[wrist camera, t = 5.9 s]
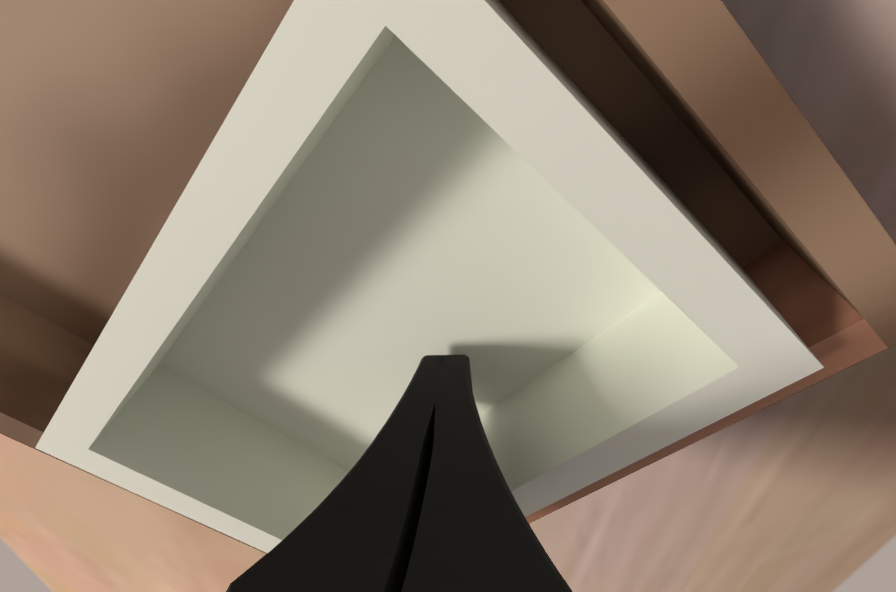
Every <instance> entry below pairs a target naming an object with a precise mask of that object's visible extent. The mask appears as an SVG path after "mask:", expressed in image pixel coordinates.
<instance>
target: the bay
mask: <svg viewBox="0 0 896 592" xmlns="http://www.w3.org/2000/svg"><path fill="white" fill-rule="evenodd" d="M293 1H294V0H0V433H1V434H3V435H5V436H7V437H9V438H12V439H14V440H16V441H18V442H20V443H23V444H25V445H27V446H29V447H31V448H34V449H36V448H35V447H36V445H37V443H38V442H39V440H40V438H41V437H42V435H43V433H44V431H45V430H46V428H47V426H48V424H49V423H50V421H51V419H52V418H53V416H54V414H55V412H56V411H57V409H58V407H59V405H60V404H61V402H62V400H63V398H64V397H65V395H66V393H67V392H68V390H69V388H70V386H71V385H72V383H73V381H74V379H75V378H76V376H77V374H78V373H79V371H80V369H81V367H82V366H83V364H84V362H85V360H86V359H87V357H88V355H89V354H90V352H91V350H92V348H93V347H94V345H95V343H96V341H97V340H98V338H99V336H100V335H101V333H102V331H103V329H104V328H105V326H106V324H107V322H108V321H109V319H110V317H111V316H112V314H113V312H114V310H115V309H116V307H117V305H118V303H119V302H120V300H121V298H122V297H123V295H124V293H125V291H126V290H127V288H128V286H129V284H130V283H131V281H132V279H133V278H134V276H135V274H136V272H137V271H138V269H139V267H140V265H141V264H142V262H143V260H144V259H145V257H146V255H147V253H148V252H149V250H150V248H151V246H152V245H153V243H154V241H155V240H156V238H157V236H158V234H159V233H160V231H161V229H162V227H163V226H164V224H165V222H166V221H167V219H168V217H169V215H170V214H171V212H172V210H173V208H174V207H175V205H176V203H177V202H178V200H179V198H180V196H181V195H182V193H183V191H184V189H185V188H186V186H187V184H188V182H189V181H190V179H191V177H192V176H193V174H194V172H195V170H196V169H197V167H198V165H199V163H200V162H201V160H202V158H203V157H204V155H205V153H206V151H207V150H208V148H209V146H210V144H211V143H212V141H213V139H214V138H215V136H216V134H217V132H218V131H219V129H220V127H221V125H222V124H223V122H224V120H225V119H226V117H227V115H228V113H229V112H230V110H231V108H232V106H233V105H234V103H235V101H236V100H237V98H238V96H239V94H240V93H241V91H242V89H243V87H244V86H245V84H246V82H247V81H248V79H249V77H250V75H251V74H252V72H253V70H254V68H255V67H256V65H257V63H258V62H259V60H260V58H261V56H262V55H263V53H264V51H265V49H266V48H267V46H268V44H269V43H270V41H271V39H272V37H273V36H274V34H275V32H276V30H277V29H278V27H279V25H280V24H281V22H282V20H283V18H284V17H285V15H286V13H287V11H288V10H289V8H290V6H291V5H292V3H293ZM499 1H500V2H501V3H502V4H503V5H504V6H505V7H506V9H507V10H508V11H509V12H510V13H511V14H512V15H513V16H514V17H515V18H516V19H517V21H518V22H519V23H520V24H521V25H522V26H523V27H524V28H525V29H526V30H527V32H528V33H529V34H530V35H531V36H532V37H533V38H534V39H535V40H536V41H537V43H538V44H539V45H540V46H541V47H542V48H543V49H544V50H545V51H546V52H547V53H548V55H549V56H550V57H551V58H552V59H553V60H554V61H555V62H556V63H557V64H558V66H559V67H560V68H561V69H562V70H563V71H564V72H565V73H566V74H567V75H568V77H569V78H570V79H571V80H572V81H573V82H574V83H575V84H576V85H577V86H578V87H579V89H580V90H581V91H582V92H583V93H584V94H585V95H586V96H587V97H588V98H589V100H590V101H591V102H592V103H593V104H594V105H595V106H596V107H597V108H598V109H599V111H600V112H601V113H602V114H603V115H604V116H605V117H606V118H607V119H608V120H609V121H610V123H611V124H612V125H613V126H614V127H615V128H616V129H617V130H618V131H619V132H620V134H621V135H622V136H623V137H624V138H625V139H626V140H627V141H628V142H629V143H630V144H631V146H632V147H633V148H634V149H635V150H636V151H637V152H638V153H639V154H640V155H641V157H642V158H643V159H644V160H645V161H646V162H647V163H648V164H649V165H650V166H651V168H652V169H653V170H654V171H655V172H656V173H657V174H658V175H659V176H660V177H661V178H662V180H663V181H664V182H665V183H666V184H667V185H668V186H669V187H670V188H671V189H672V191H673V192H674V193H675V194H676V195H677V196H678V197H679V198H680V199H681V200H682V202H683V203H684V204H685V205H686V206H687V207H688V208H689V209H690V210H691V211H692V212H693V214H694V215H695V216H696V217H697V218H698V219H699V220H700V221H701V222H702V223H703V225H704V226H705V227H706V228H707V229H708V230H709V231H710V232H711V233H712V234H713V236H714V237H715V238H716V239H717V240H718V241H719V242H720V243H721V244H722V245H723V246H724V248H725V249H726V250H727V251H728V252H729V253H730V254H731V255H732V256H733V257H734V259H735V260H736V261H737V262H738V263H739V264H740V265H741V267H742V268H743V269H744V270H745V272H746V273H747V274H748V275H749V276H750V278H751V279H752V280H753V281H754V283H755V284H756V285H757V286H758V287H759V289H760V290H761V291H762V292H763V293H764V295H765V296H766V297H767V298H768V300H769V301H770V302H771V303H772V304H773V306H774V307H775V308H776V309H777V311H778V312H779V313H780V314H781V315H782V317H783V318H784V319H785V320H786V322H787V323H788V324H789V325H790V326H791V328H792V329H793V330H794V331H795V333H796V334H797V335H798V336H799V337H800V339H801V340H802V341H803V342H804V344H805V345H806V346H807V347H808V348H809V350H810V351H811V352H812V353H813V355H814V356H815V357H816V358H817V359H818V361H819V362H820V363H821V364H822V365H823V367H824V368H822V369H820V370H818V371H816V372H814V373H812V374H810V375H808V376H806V377H804V378H802V379H800V380H798V381H796V382H794V383H792V384H790V385H788V386H786V387H784V388H782V389H780V390H778V391H776V392H774V393H772V394H770V395H768V396H766V397H764V398H762V399H760V400H758V401H756V402H754V403H752V404H750V405H748V406H746V407H744V408H742V409H740V410H738V411H736V412H734V413H732V414H730V415H728V416H726V417H724V418H722V419H720V420H718V421H716V422H714V423H712V424H710V425H708V426H706V427H704V428H702V429H700V430H698V431H696V432H694V433H692V434H690V435H688V436H686V437H684V438H682V439H680V440H678V441H676V442H674V443H672V444H670V445H668V446H666V447H664V448H662V449H660V450H658V451H656V452H654V453H652V454H650V455H648V456H646V457H644V458H642V459H640V460H638V461H636V462H634V463H632V464H630V465H628V466H626V467H624V468H622V469H620V470H618V471H616V472H614V473H612V474H610V475H608V476H606V477H604V478H602V479H600V480H598V481H596V482H594V483H592V484H590V485H588V486H586V487H584V488H582V489H580V490H578V491H576V492H574V493H572V494H570V495H568V496H566V497H564V498H562V499H560V500H558V501H556V502H554V503H552V504H550V505H548V506H546V507H544V508H542V509H540V510H538V511H536V512H534V513H532V514H530V515H528V516H526V517H525V518H526V520H527V522H528V523H531V522H533V521H535V520H537V519H539V518H541V517H543V516H545V515H547V514H549V513H551V512H553V511H555V510H557V509H560V508H562V507H564V506H566V505H568V504H570V503H572V502H574V501H576V500H578V499H580V498H582V497H584V496H586V495H588V494H590V493H592V492H594V491H596V490H598V489H600V488H602V487H605V486H607V485H609V484H611V483H613V482H615V481H617V480H619V479H621V478H623V477H625V476H627V475H629V474H631V473H633V472H635V471H637V470H639V469H641V468H643V467H645V466H647V465H650V464H652V463H654V462H656V461H658V460H660V459H662V458H664V457H666V456H668V455H670V454H672V453H674V452H676V451H678V450H680V449H682V448H684V447H686V446H688V445H690V444H692V443H695V442H697V441H699V440H701V439H703V438H705V437H707V436H709V435H711V434H713V433H715V432H717V431H719V430H721V429H723V428H725V427H727V426H729V425H731V424H733V423H735V422H737V421H740V420H742V419H744V418H746V417H748V416H750V415H752V414H754V413H756V412H758V411H760V410H762V409H764V408H766V407H768V406H770V405H772V404H774V403H776V402H778V401H780V400H782V399H785V398H787V397H789V396H791V395H793V394H795V393H797V392H799V391H801V390H803V389H805V388H807V387H809V386H811V385H813V384H815V383H817V382H819V381H821V380H823V379H825V378H827V377H830V376H832V375H834V374H836V373H838V372H840V371H842V370H844V369H846V368H848V367H850V366H852V365H854V364H856V363H858V362H860V361H862V360H864V359H866V358H868V357H870V356H872V355H875V354H877V353H879V352H881V351H883V350H885V349H887V348H889V347H891V346H893V345H895V344H896V245H895V243H894V242H893V240H892V239H891V238H890V236H889V235H888V233H887V232H886V231H885V229H884V228H883V226H882V225H881V224H880V222H879V221H878V219H877V218H876V217H875V215H874V214H873V212H872V211H871V210H870V208H869V207H868V205H867V204H866V203H865V201H864V200H863V198H862V197H861V196H860V194H859V193H858V191H857V190H856V189H855V187H854V186H853V184H852V183H851V181H850V180H849V179H848V177H847V176H846V174H845V173H844V172H843V170H842V169H841V167H840V166H839V165H838V163H837V162H836V160H835V159H834V158H833V156H832V155H831V153H830V152H829V151H828V149H827V148H826V146H825V145H824V144H823V142H822V141H821V139H820V138H819V137H818V135H817V134H816V132H815V131H814V130H813V128H812V127H811V125H810V124H809V123H808V121H807V120H806V118H805V117H804V116H803V114H802V113H801V111H800V110H799V109H798V107H797V106H796V104H795V103H794V102H793V100H792V99H791V97H790V96H789V95H788V93H787V92H786V90H785V89H784V88H783V86H782V85H781V83H780V82H779V81H778V79H777V78H776V76H775V75H774V74H773V72H772V71H771V69H770V68H769V67H768V65H767V64H766V62H765V61H764V60H763V58H762V57H761V55H760V54H759V53H758V51H757V50H756V48H755V47H754V46H753V44H752V43H751V41H750V40H749V39H748V37H747V36H746V34H745V33H744V32H743V30H742V29H741V27H740V26H739V25H738V23H737V22H736V20H735V19H734V18H733V16H732V15H731V13H730V12H729V11H728V9H727V8H726V6H725V5H724V4H723V2H722V1H721V0H499ZM36 450H38V451H40V452H43V451H41V450H39V449H36ZM43 453H45V452H43ZM45 454H47V453H45ZM47 455H49V456H51V457H54V456H52V455H50V454H47ZM54 458H56V457H54ZM56 459H58V458H56ZM58 460H60V461H62V462H65V461H63V460H61V459H58ZM65 463H67V462H65ZM67 464H69V463H67ZM69 465H71V466H73V467H76V466H74V465H72V464H69ZM76 468H78V467H76ZM78 469H80V468H78ZM80 470H82V471H85V470H83V469H80ZM85 472H87V471H85ZM87 473H89V472H87ZM89 474H91V475H93V476H96V475H94V474H92V473H89ZM96 477H98V476H96ZM98 478H100V477H98ZM100 479H102V480H104V481H107V480H105V479H103V478H100ZM107 482H109V481H107ZM109 483H111V482H109ZM111 484H113V485H115V486H118V485H116V484H114V483H111ZM118 487H120V486H118ZM120 488H122V487H120ZM122 489H124V490H127V489H125V488H122ZM127 491H129V490H127ZM129 492H131V491H129ZM131 493H133V492H131ZM133 494H135V495H138V494H136V493H133ZM138 496H140V495H138ZM140 497H142V496H140ZM142 498H144V497H142ZM144 499H146V500H149V499H147V498H144ZM149 501H151V500H149ZM151 502H153V501H151ZM153 503H155V504H157V505H160V504H158V503H156V502H153ZM160 506H162V505H160ZM162 507H164V506H162ZM164 508H166V509H169V508H167V507H164ZM169 510H171V509H169ZM171 511H173V510H171ZM173 512H175V511H173ZM175 513H177V514H180V513H178V512H175ZM180 515H182V514H180ZM182 516H184V515H182ZM184 517H186V516H184ZM186 518H188V519H191V518H189V517H186ZM191 520H193V519H191ZM193 521H195V520H193ZM195 522H197V521H195ZM197 523H199V524H202V523H200V522H197ZM202 525H204V524H202ZM204 526H206V525H204ZM206 527H208V526H206ZM208 528H211V527H208ZM211 529H213V528H211ZM213 530H215V529H213ZM215 531H217V530H215ZM217 532H219V531H217ZM219 533H222V532H219ZM222 534H224V533H222ZM224 535H226V534H224ZM226 536H228V535H226ZM228 537H230V538H233V537H231V536H228ZM233 539H235V538H233ZM235 540H237V539H235ZM237 541H239V540H237ZM239 542H241V543H244V542H242V541H239ZM244 544H246V543H244ZM246 545H248V544H246ZM248 546H250V545H248ZM250 547H253V546H250ZM253 548H255V547H253ZM255 549H257V548H255ZM257 550H259V549H257ZM259 551H261V550H259ZM261 552H264V551H261ZM264 553H266V552H264ZM266 554H267V553H266Z"/></svg>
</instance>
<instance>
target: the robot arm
mask: <svg viewBox="0 0 896 592" xmlns="http://www.w3.org/2000/svg"><path fill="white" fill-rule="evenodd" d="M226 592H572V590H571V589H570V587H569V586H568V584H567V583H566V582H565V580H564V579H563V577H562V576H561V574H560V573H559V571H558V570H557V568H556V567H555V565H554V564H553V562H552V561H551V559H550V558H549V556H548V555H547V553H546V552H545V550H544V548H543V547H542V545H541V544H540V542H539V540H538V539H537V537H536V535H535V534H534V532H533V530H532V529H531V527H530V525H529V523H528V522H527V520H526V518H525V516H524V514H523V513H522V511H521V509H520V507H519V506H518V504H517V502H516V500H515V498H514V496H513V495H512V493H511V491H510V489H509V487H508V485H507V483H506V481H505V479H504V476H503V474H502V472H501V470H500V468H499V466H498V463H497V461H496V459H495V457H494V454H493V452H492V449H491V447H490V444H489V442H488V439H487V437H486V434H485V431H484V428H483V426H482V423H481V420H480V416H479V413H478V410H477V406H476V403H475V399H474V396H473V389H472V379H471V369H470V359H469V357H468V356H466V355H465V354H463V355H425V356H424V357H423V358H422V359H421V361H420V363H419V366H418V368H417V370H416V372H415V374H414V376H413V378H412V379H411V381H410V383H409V385H408V387H407V388H406V390H405V392H404V394H403V396H402V397H401V399H400V400H399V402H398V404H397V405H396V407H395V409H394V410H393V412H392V414H391V415H390V417H389V418H388V420H387V421H386V423H385V424H384V426H383V427H382V429H381V430H380V431H379V433H378V434H377V436H376V437H375V439H374V440H373V442H372V443H371V444H370V446H369V447H368V448H367V450H366V451H365V452H364V454H363V455H362V456H361V458H360V459H359V460H358V461H357V463H356V464H355V465H354V466H353V467H352V469H351V470H350V471H349V472H348V474H347V475H346V476H345V477H344V478H343V479H342V480H341V482H340V483H339V484H338V485H337V486H336V487H335V488H334V489H333V490H332V492H331V493H330V494H329V495H328V496H327V497H326V498H325V499H324V500H323V501H322V502H321V503H320V504H319V506H318V507H317V508H316V509H315V510H314V511H313V512H312V513H311V514H310V515H308V516H307V517H306V518H305V519H304V520H303V521H302V522H301V523H300V524H299V525H298V526H297V527H296V528H295V529H294V530H293V531H292V532H291V533H290V534H288V535H287V536H286V537H285V538H284V539H283V540H282V541H281V542H280V543H279V544H278V545H276V546H275V547H274V548H273V549H272V550H271V551H270V552H268V553H267V554H266V555H265V556H263V557H262V558H261V559H260V560H259V561H257V562H256V563H255V564H254V565H253V566H251V567H250V568H249V569H248V570H247V571H245V572H244V573H243V574H242V575H241V576H239V577H238V578H237V579H236V580H234V581H233V582H232V583H231V584H230V586H229V588H228V590H227V591H226Z"/></svg>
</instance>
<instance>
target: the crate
mask: <svg viewBox="0 0 896 592" xmlns="http://www.w3.org/2000/svg"><path fill="white" fill-rule="evenodd" d="M463 354H465V355H466V356H468V357H469V359H470V369H471V379H472V389H473V396H474V399H475V403H476V406H477V410H478V413H479V416H480V420H481V423H482V426H483V428H484V431H485V434H486V437H487V439H488V442H489V444H490V447H491V449H492V452H493V454H494V457H495V459H496V461H497V463H498V466H499V468H500V470H501V472H502V474H503V476H504V479H505V481H506V483H507V485H508V487H509V489H510V491H511V493H512V495H513V496H514V498H515V500H516V502H517V504H518V506H519V507H520V509H521V511H522V513H523V514H524V516H525V517H526V516H528V515H530V514H532V513H534V512H536V511H538V510H540V509H542V508H544V507H546V506H548V505H550V504H552V503H554V502H556V501H558V500H560V499H562V498H564V497H566V496H568V495H570V494H572V493H574V492H576V491H578V490H580V489H582V488H584V487H586V486H588V485H590V484H592V483H594V482H596V481H598V480H600V479H602V478H604V477H606V476H608V475H610V474H612V473H614V472H616V471H618V470H620V469H622V468H624V467H626V466H628V465H630V464H632V463H634V462H636V461H638V460H640V459H642V458H644V457H646V456H648V455H650V454H652V453H654V452H656V451H658V450H660V449H662V448H664V447H666V446H668V445H670V444H672V443H674V442H676V441H678V440H680V439H682V438H684V437H686V436H688V435H690V434H692V433H694V432H696V431H698V430H700V429H702V428H704V427H706V426H708V425H710V424H712V423H714V422H716V421H718V420H720V419H722V418H724V417H726V416H728V415H730V414H732V413H734V412H736V411H738V410H740V409H742V408H744V407H746V406H748V405H750V404H752V403H754V402H756V401H758V400H760V399H762V398H764V397H766V396H768V395H770V394H772V393H774V392H776V391H778V390H780V389H782V388H784V387H786V386H788V385H790V384H792V383H794V382H796V381H798V380H800V379H802V378H804V377H806V376H808V375H810V374H812V373H814V372H816V371H818V370H820V369H822V368H824V367H823V365H822V364H821V363H820V362H819V361H818V359H817V358H816V357H815V356H814V355H813V353H812V352H811V351H810V350H809V348H808V347H807V346H806V345H805V344H804V342H803V341H802V340H801V339H800V337H799V336H798V335H797V334H796V333H795V331H794V330H793V329H792V328H791V326H790V325H789V324H788V323H787V322H786V320H785V319H784V318H783V317H782V315H781V314H780V313H779V312H778V311H777V309H776V308H775V307H774V306H773V304H772V303H771V302H770V301H769V300H768V298H767V297H766V296H765V295H764V293H763V292H762V291H761V290H760V289H759V287H758V286H757V285H756V284H755V283H754V281H753V280H752V279H751V278H750V276H749V275H748V274H747V273H746V272H745V270H744V269H743V268H742V267H741V265H740V264H739V263H738V262H737V261H736V260H735V259H734V257H733V256H732V255H731V254H730V253H729V252H728V251H727V250H726V249H725V248H724V246H723V245H722V244H721V243H720V242H719V241H718V240H717V239H716V238H715V237H714V236H713V234H712V233H711V232H710V231H709V230H708V229H707V228H706V227H705V226H704V225H703V223H702V222H701V221H700V220H699V219H698V218H697V217H696V216H695V215H694V214H693V212H692V211H691V210H690V209H689V208H688V207H687V206H686V205H685V204H684V203H683V202H682V200H681V199H680V198H679V197H678V196H677V195H676V194H675V193H674V192H673V191H672V189H671V188H670V187H669V186H668V185H667V184H666V183H665V182H664V181H663V180H662V178H661V177H660V176H659V175H658V174H657V173H656V172H655V171H654V170H653V169H652V168H651V166H650V165H649V164H648V163H647V162H646V161H645V160H644V159H643V158H642V157H641V155H640V154H639V153H638V152H637V151H636V150H635V149H634V148H633V147H632V146H631V144H630V143H629V142H628V141H627V140H626V139H625V138H624V137H623V136H622V135H621V134H620V132H619V131H618V130H617V129H616V128H615V127H614V126H613V125H612V124H611V123H610V121H609V120H608V119H607V118H606V117H605V116H604V115H603V114H602V113H601V112H600V111H599V109H598V108H597V107H596V106H595V105H594V104H593V103H592V102H591V101H590V100H589V98H588V97H587V96H586V95H585V94H584V93H583V92H582V91H581V90H580V89H579V87H578V86H577V85H576V84H575V83H574V82H573V81H572V80H571V79H570V78H569V77H568V75H567V74H566V73H565V72H564V71H563V70H562V69H561V68H560V67H559V66H558V64H557V63H556V62H555V61H554V60H553V59H552V58H551V57H550V56H549V55H548V53H547V52H546V51H545V50H544V49H543V48H542V47H541V46H540V45H539V44H538V43H537V41H536V40H535V39H534V38H533V37H532V36H531V35H530V34H529V33H528V32H527V30H526V29H525V28H524V27H523V26H522V25H521V24H520V23H519V22H518V21H517V19H516V18H515V17H514V16H513V15H512V14H511V13H510V12H509V11H508V10H507V9H506V7H505V6H504V5H503V4H502V3H501V2H500V1H499V0H294V1H293V3H292V5H291V6H290V8H289V10H288V11H287V13H286V15H285V17H284V18H283V20H282V22H281V24H280V25H279V27H278V29H277V30H276V32H275V34H274V36H273V37H272V39H271V41H270V43H269V44H268V46H267V48H266V49H265V51H264V53H263V55H262V56H261V58H260V60H259V62H258V63H257V65H256V67H255V68H254V70H253V72H252V74H251V75H250V77H249V79H248V81H247V82H246V84H245V86H244V87H243V89H242V91H241V93H240V94H239V96H238V98H237V100H236V101H235V103H234V105H233V106H232V108H231V110H230V112H229V113H228V115H227V117H226V119H225V120H224V122H223V124H222V125H221V127H220V129H219V131H218V132H217V134H216V136H215V138H214V139H213V141H212V143H211V144H210V146H209V148H208V150H207V151H206V153H205V155H204V157H203V158H202V160H201V162H200V163H199V165H198V167H197V169H196V170H195V172H194V174H193V176H192V177H191V179H190V181H189V182H188V184H187V186H186V188H185V189H184V191H183V193H182V195H181V196H180V198H179V200H178V202H177V203H176V205H175V207H174V208H173V210H172V212H171V214H170V215H169V217H168V219H167V221H166V222H165V224H164V226H163V227H162V229H161V231H160V233H159V234H158V236H157V238H156V240H155V241H154V243H153V245H152V246H151V248H150V250H149V252H148V253H147V255H146V257H145V259H144V260H143V262H142V264H141V265H140V267H139V269H138V271H137V272H136V274H135V276H134V278H133V279H132V281H131V283H130V284H129V286H128V288H127V290H126V291H125V293H124V295H123V297H122V298H121V300H120V302H119V303H118V305H117V307H116V309H115V310H114V312H113V314H112V316H111V317H110V319H109V321H108V322H107V324H106V326H105V328H104V329H103V331H102V333H101V335H100V336H99V338H98V340H97V341H96V343H95V345H94V347H93V348H92V350H91V352H90V354H89V355H88V357H87V359H86V360H85V362H84V364H83V366H82V367H81V369H80V371H79V373H78V374H77V376H76V378H75V379H74V381H73V383H72V385H71V386H70V388H69V390H68V392H67V393H66V395H65V397H64V398H63V400H62V402H61V404H60V405H59V407H58V409H57V411H56V412H55V414H54V416H53V418H52V419H51V421H50V423H49V424H48V426H47V428H46V430H45V431H44V433H43V435H42V437H41V438H40V440H39V442H38V443H37V445H36V447H35V448H36V449H39V450H41V451H43V452H45V453H47V454H50V455H52V456H54V457H56V458H58V459H61V460H63V461H65V462H67V463H69V464H72V465H74V466H76V467H78V468H80V469H83V470H85V471H87V472H89V473H92V474H94V475H96V476H98V477H100V478H103V479H105V480H107V481H109V482H111V483H114V484H116V485H118V486H120V487H122V488H125V489H127V490H129V491H131V492H133V493H136V494H138V495H140V496H142V497H144V498H147V499H149V500H151V501H153V502H156V503H158V504H160V505H162V506H164V507H167V508H169V509H171V510H173V511H175V512H178V513H180V514H182V515H184V516H186V517H189V518H191V519H193V520H195V521H197V522H200V523H202V524H204V525H206V526H208V527H211V528H213V529H215V530H217V531H219V532H222V533H224V534H226V535H228V536H231V537H233V538H235V539H237V540H239V541H242V542H244V543H246V544H248V545H250V546H253V547H255V548H257V549H259V550H261V551H264V552H266V553H268V552H270V551H271V550H272V549H273V548H274V547H275V546H276V545H278V544H279V543H280V542H281V541H282V540H283V539H284V538H285V537H286V536H287V535H288V534H290V533H291V532H292V531H293V530H294V529H295V528H296V527H297V526H298V525H299V524H300V523H301V522H302V521H303V520H304V519H305V518H306V517H307V516H308V515H310V514H311V513H312V512H313V511H314V510H315V509H316V508H317V507H318V506H319V504H320V503H321V502H322V501H323V500H324V499H325V498H326V497H327V496H328V495H329V494H330V493H331V492H332V490H333V489H334V488H335V487H336V486H337V485H338V484H339V483H340V482H341V480H342V479H343V478H344V477H345V476H346V475H347V474H348V472H349V471H350V470H351V469H352V467H353V466H354V465H355V464H356V463H357V461H358V460H359V459H360V458H361V456H362V455H363V454H364V452H365V451H366V450H367V448H368V447H369V446H370V444H371V443H372V442H373V440H374V439H375V437H376V436H377V434H378V433H379V431H380V430H381V429H382V427H383V426H384V424H385V423H386V421H387V420H388V418H389V417H390V415H391V414H392V412H393V410H394V409H395V407H396V405H397V404H398V402H399V400H400V399H401V397H402V396H403V394H404V392H405V390H406V388H407V387H408V385H409V383H410V381H411V379H412V378H413V376H414V374H415V372H416V370H417V368H418V366H419V363H420V361H421V359H422V358H423V357H424V356H425V355H463Z"/></svg>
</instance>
